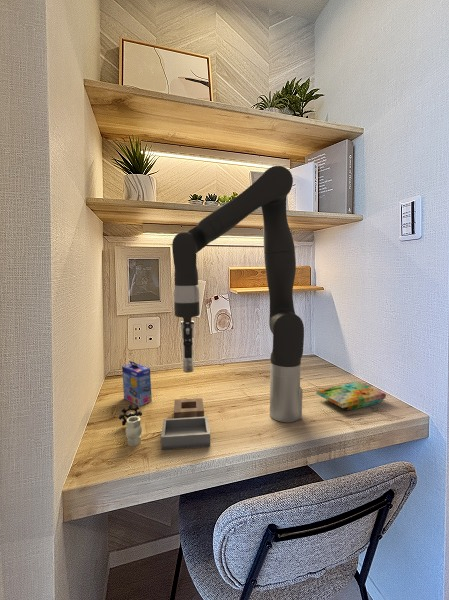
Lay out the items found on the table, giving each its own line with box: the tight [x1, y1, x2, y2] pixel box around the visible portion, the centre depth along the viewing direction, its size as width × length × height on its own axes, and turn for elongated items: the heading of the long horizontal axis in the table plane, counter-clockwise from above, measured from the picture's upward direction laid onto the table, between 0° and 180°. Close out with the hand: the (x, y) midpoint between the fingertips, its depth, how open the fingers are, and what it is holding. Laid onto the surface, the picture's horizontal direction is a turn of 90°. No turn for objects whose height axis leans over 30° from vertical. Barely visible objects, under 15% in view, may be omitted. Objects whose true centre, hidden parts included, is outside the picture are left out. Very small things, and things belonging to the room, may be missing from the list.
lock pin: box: [181, 337, 195, 374], centre depth 94 cm, size 3×3×10 cm
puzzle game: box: [316, 381, 387, 412], centre depth 107 cm, size 12×5×20 cm
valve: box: [118, 403, 143, 447], centre depth 86 cm, size 7×7×12 cm
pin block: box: [173, 397, 205, 419], centre depth 96 cm, size 9×9×4 cm
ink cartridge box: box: [121, 360, 153, 407], centre depth 108 cm, size 10×6×14 cm, turn 51°
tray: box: [160, 415, 211, 451], centre depth 84 cm, size 13×10×4 cm
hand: (188, 355), depth 94 cm, fingers closed on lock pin, 3 cm apart
